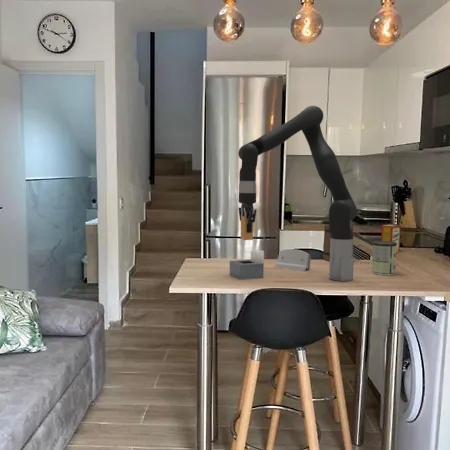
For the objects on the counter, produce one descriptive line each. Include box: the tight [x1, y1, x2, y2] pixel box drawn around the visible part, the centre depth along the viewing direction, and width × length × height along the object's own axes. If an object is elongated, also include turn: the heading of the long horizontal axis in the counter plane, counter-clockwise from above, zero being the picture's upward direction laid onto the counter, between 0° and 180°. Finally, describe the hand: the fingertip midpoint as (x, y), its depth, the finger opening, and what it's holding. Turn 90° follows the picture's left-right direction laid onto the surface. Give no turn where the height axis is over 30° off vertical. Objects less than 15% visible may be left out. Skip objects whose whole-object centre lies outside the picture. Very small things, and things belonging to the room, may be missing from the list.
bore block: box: [229, 259, 265, 280], centre depth 205 cm, size 11×11×6 cm
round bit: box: [250, 249, 265, 265], centre depth 218 cm, size 6×6×9 cm
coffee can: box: [371, 240, 397, 276], centre depth 213 cm, size 10×10×14 cm
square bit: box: [240, 216, 254, 241], centre depth 203 cm, size 4×4×10 cm
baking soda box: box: [380, 224, 401, 252], centre depth 278 cm, size 10×6×16 cm
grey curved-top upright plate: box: [274, 248, 312, 272], centre depth 225 cm, size 17×5×10 cm, turn 54°
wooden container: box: [322, 223, 354, 262], centre depth 249 cm, size 15×15×22 cm
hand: (246, 231), depth 203 cm, fingers closed on square bit, 4 cm apart
